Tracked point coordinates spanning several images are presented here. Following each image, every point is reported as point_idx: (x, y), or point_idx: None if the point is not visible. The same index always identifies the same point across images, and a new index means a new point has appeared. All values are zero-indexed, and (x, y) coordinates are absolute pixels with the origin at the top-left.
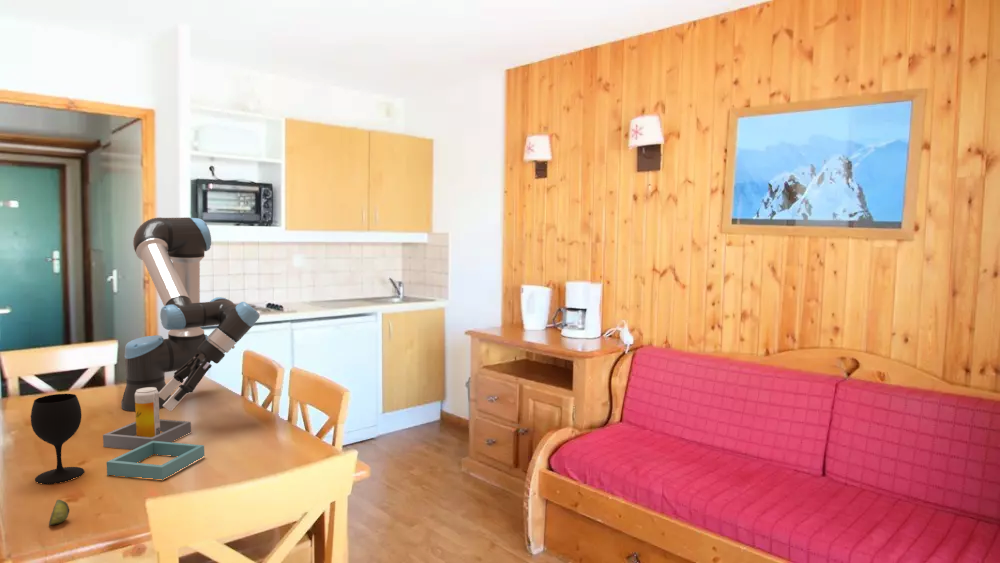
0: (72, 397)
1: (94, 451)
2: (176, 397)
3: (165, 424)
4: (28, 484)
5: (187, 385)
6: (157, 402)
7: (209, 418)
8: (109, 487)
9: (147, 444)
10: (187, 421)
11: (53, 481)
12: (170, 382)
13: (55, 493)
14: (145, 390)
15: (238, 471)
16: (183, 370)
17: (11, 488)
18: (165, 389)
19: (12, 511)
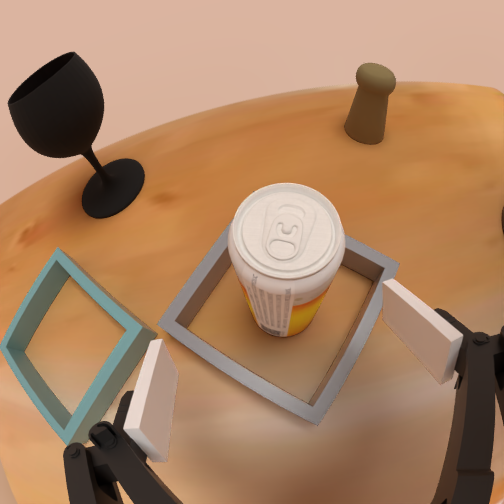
0: (53, 86)
1: (229, 200)
2: (123, 402)
3: (349, 338)
4: (105, 161)
5: (66, 463)
6: (268, 305)
7: (441, 434)
8: (31, 273)
9: (117, 316)
10: (324, 414)
11: (85, 188)
12: (432, 330)
13: (52, 207)
14: (276, 224)
15: (21, 468)
16: (464, 421)
17: (103, 149)
18: (404, 312)
19: (36, 183)
